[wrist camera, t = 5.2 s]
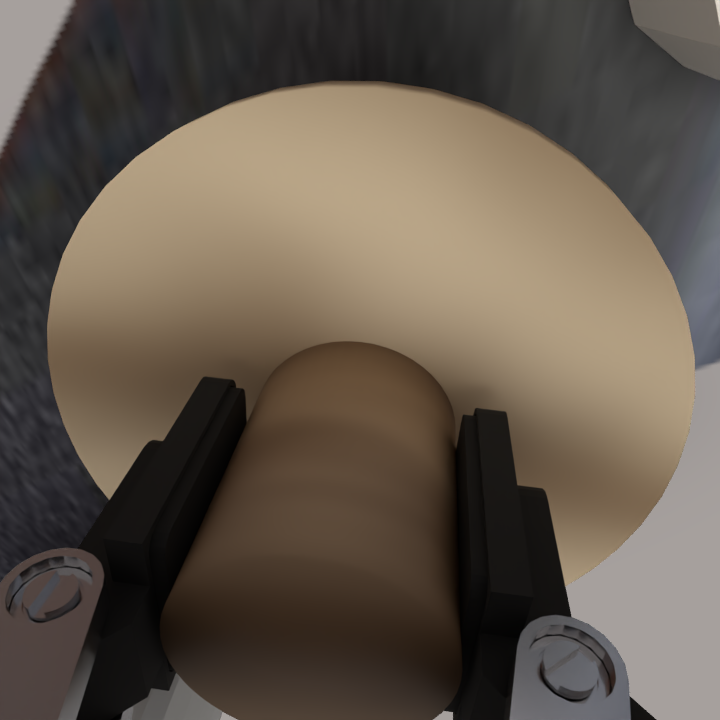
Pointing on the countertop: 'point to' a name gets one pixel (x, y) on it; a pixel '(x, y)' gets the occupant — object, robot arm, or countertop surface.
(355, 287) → the lid
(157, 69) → the countertop surface
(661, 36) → the pot
